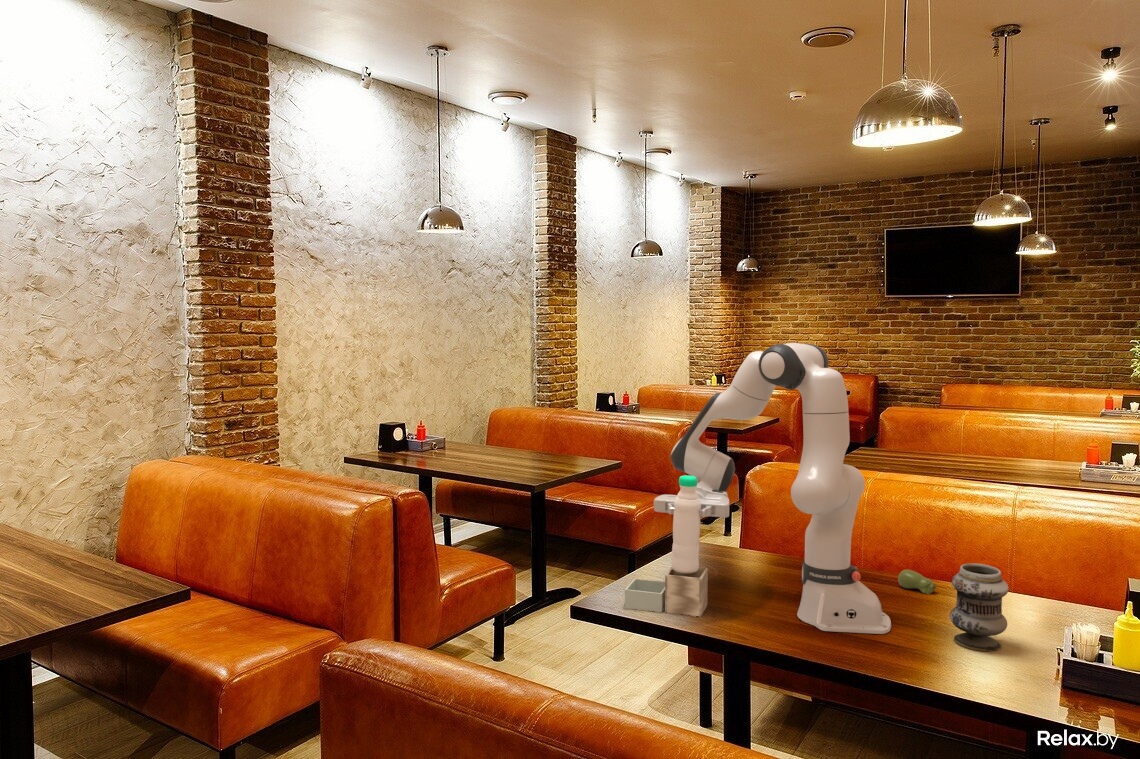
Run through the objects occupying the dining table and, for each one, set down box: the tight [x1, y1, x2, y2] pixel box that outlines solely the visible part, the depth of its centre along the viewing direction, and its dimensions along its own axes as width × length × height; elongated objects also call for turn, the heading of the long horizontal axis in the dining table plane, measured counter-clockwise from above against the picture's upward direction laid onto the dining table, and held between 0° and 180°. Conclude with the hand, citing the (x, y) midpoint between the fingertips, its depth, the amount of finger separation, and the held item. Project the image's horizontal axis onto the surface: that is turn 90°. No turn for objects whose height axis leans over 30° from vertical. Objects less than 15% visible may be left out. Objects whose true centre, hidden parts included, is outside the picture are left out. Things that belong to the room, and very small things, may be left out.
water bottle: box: [671, 474, 701, 574], centre depth 208 cm, size 7×7×25 cm
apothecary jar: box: [949, 562, 1009, 652], centre depth 186 cm, size 12×12×18 cm
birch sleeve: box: [664, 566, 708, 618], centre depth 209 cm, size 9×9×10 cm
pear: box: [897, 569, 937, 595], centre depth 224 cm, size 6×5×10 cm
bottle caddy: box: [624, 577, 665, 613], centre depth 213 cm, size 10×10×5 cm
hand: (686, 512), depth 207 cm, fingers closed on water bottle, 6 cm apart
